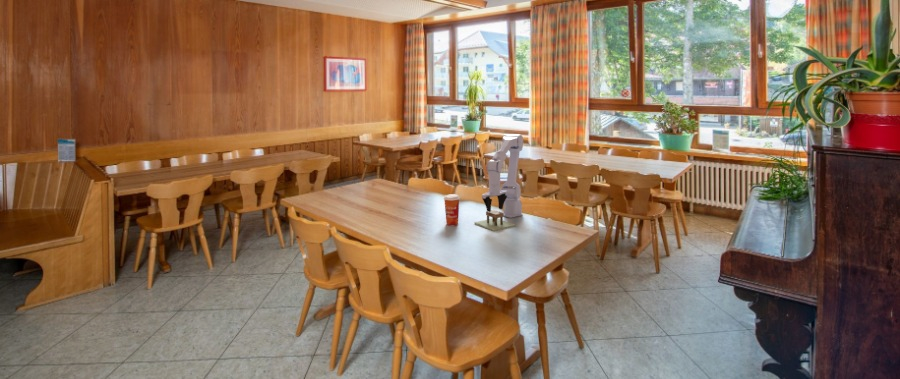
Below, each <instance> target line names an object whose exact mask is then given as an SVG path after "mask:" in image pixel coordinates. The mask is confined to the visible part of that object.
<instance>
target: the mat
mask: <svg viewBox="0 0 900 379" xmlns="http://www.w3.org/2000/svg"><path fill="white" fill-rule="evenodd" d="M474 225H475V226H480V227H482V228H484V229H486V230H489V231H493V232H497V231H500V230H505V229H509V228H514V227H516V225H517V224H515V223H513V222H512V223H511V222H509V221H506V220H503V225H501V224H500V218H497V226H495V222H492V218H489V223H487V219H484V220H480V221H476V222H474Z"/></svg>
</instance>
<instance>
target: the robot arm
mask: <svg viewBox="0 0 900 379" xmlns="http://www.w3.org/2000/svg"><path fill="white" fill-rule="evenodd" d="M523 145H524V137H523V135H522V134H509V133H505V134H503V136H502V144H501V146H500V149H499V150H496V152H495V153H494V155H493V156H492V159H490V160H488V161H487V162H486V170H487V175H488V192H485V193H482V194H481V198H482V201H483V202H484V205H485V208H486V211H488V212H491V210H492V202H493V199H492V197H493V198H495V197H497V202H498V209H499V210H503V213H504V217H505V218H509V219H511V218H515V217H519V216H523V213H522V212H523V211H522V209H523V207H522V206H523V204H522V203H523V202H522V200H521V199H520V198H521V196H522V194H521V193H522V191H521V185H520V184H519V183H518V182H517V176H518V168H519V167H518V166H519V158H520V152H522V151H523V147H524V146H523ZM508 152H509V159H508V160H509V161H508V170H507V176H506V181H505V182H504V183H503V184H501V172H502V170H503V166H504V162H505V161H506V159H507V153H508Z"/></svg>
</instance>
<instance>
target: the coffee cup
mask: <svg viewBox="0 0 900 379" xmlns="http://www.w3.org/2000/svg"><path fill="white" fill-rule="evenodd" d="M460 199H461V198H460V196H459V195H458V194H454V193H453V194H452V193H451V194H446V195H444V197H443V200H444V211H445V212H444V213H445V220H446V225H447V226H450V225H454V226H458V225H459V217H460V216H459V214H460V213H459V212H460V210H459V209H460Z"/></svg>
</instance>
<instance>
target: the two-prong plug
mask: <svg viewBox="0 0 900 379" xmlns="http://www.w3.org/2000/svg"><path fill="white" fill-rule="evenodd" d="M485 216H486V220H487V223H489V219H490V217H491V219H492V222H495V226H497V218H498V219H500V224H501V225H503V221H504V220H503V217H505V216H504V212H503V211H500V210H499V211H498V210H495V209H491V212H488V211H487V210H486V211H485Z"/></svg>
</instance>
